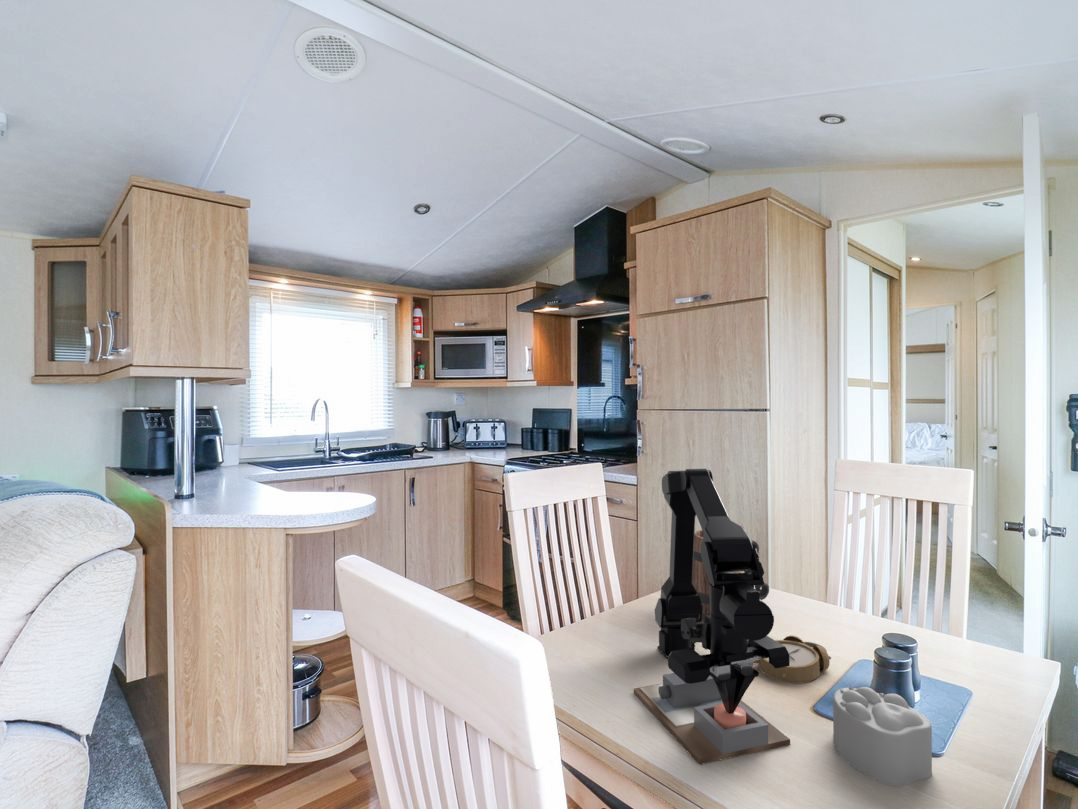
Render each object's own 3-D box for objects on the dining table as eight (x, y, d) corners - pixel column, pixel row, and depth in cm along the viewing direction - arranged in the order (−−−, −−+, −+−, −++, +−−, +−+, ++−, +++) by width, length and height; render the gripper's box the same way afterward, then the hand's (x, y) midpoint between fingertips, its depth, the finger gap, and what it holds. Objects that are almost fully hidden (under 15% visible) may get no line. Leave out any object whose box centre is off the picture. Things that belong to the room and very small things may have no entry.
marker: (719, 687, 107) (718, 665, 107) (732, 697, 104) (732, 675, 103) (655, 698, 104) (655, 676, 104) (667, 710, 100) (666, 686, 100)
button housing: (736, 716, 98) (736, 699, 98) (768, 744, 90) (768, 724, 90) (694, 725, 96) (693, 707, 96) (723, 754, 88) (722, 734, 88)
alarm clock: (743, 651, 118) (794, 623, 125) (747, 674, 119) (797, 645, 125) (791, 674, 108) (842, 643, 115) (794, 699, 109) (845, 666, 116)
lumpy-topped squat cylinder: (887, 790, 81) (886, 728, 80) (815, 738, 93) (814, 684, 93) (943, 774, 84) (942, 714, 84) (866, 725, 96) (865, 673, 96)
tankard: (706, 632, 134) (705, 545, 134) (667, 607, 150) (666, 529, 150) (790, 618, 142) (789, 536, 141) (745, 596, 158) (744, 521, 157)
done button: (734, 720, 96) (733, 701, 96) (752, 736, 91) (752, 717, 91) (708, 725, 95) (708, 706, 94) (725, 742, 90) (725, 722, 90)
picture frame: (710, 679, 113) (709, 673, 112) (790, 744, 91) (790, 737, 91) (633, 692, 108) (633, 687, 108) (699, 764, 87) (699, 757, 87)
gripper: (747, 590, 103) (748, 679, 103) (650, 603, 98) (652, 696, 98) (791, 613, 92) (792, 711, 93) (686, 629, 87) (687, 733, 87)
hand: (729, 712), depth 93 cm, fingers closed, pressing on done button
